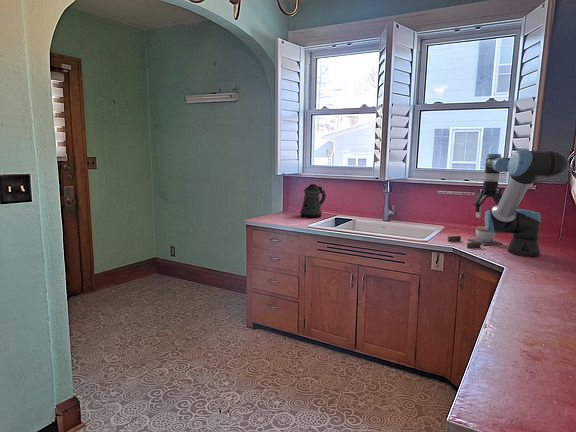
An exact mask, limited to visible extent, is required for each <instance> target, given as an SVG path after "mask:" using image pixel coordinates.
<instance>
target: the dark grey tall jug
mask: <svg viewBox="0 0 576 432" xmlns="http://www.w3.org/2000/svg"><path fill="white" fill-rule="evenodd" d="M320 195H321V196H322V197H321V199H320ZM326 196H327V194H326V191H325V190H324V189H323V187H322V186H319V185H317V184H313V183H310V184H309V185H308V186H307V187H306V188H305V189H304V197H303V202H302V207H301V209H300V217H301V218H304V219H321V217H322V214H323V213H322V210H321V206H322V205H323V204H324V202H325V200H326V198H327V197H326Z"/></svg>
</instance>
